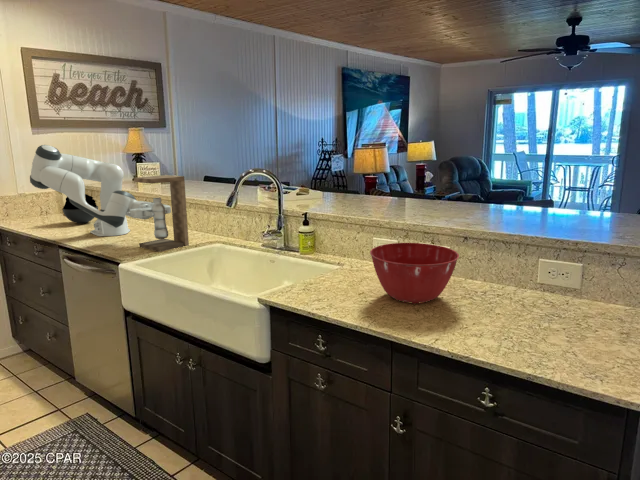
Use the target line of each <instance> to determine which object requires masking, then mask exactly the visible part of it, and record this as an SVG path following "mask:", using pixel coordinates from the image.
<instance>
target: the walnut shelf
mask: <svg viewBox="0 0 640 480" xmlns="http://www.w3.org/2000/svg"><path fill="white" fill-rule="evenodd" d="M133 181H134V183H139V184H140V183H142V184H150V185H151V184H152V185H153V184H162V183H169V189H170V201H171V202H170V203H171V205H170V206H171V215H172V216H171V217H172V218H171V219H172V233H173V240H172V239H169V238H168V239H167V238H164V239H155V240H149V241H145V242H140V243H138V244H139V248H141V249H145V250H149V251H154V252H158V253H161V252H165V251H169V250H173V249H174V248H175V249H179V248H183V246H184V247H188V246H189V244H190V243H189V241H190V239H189V228H188V215H187V214H188V213H187V212H188V211H187V200H186V199H187V198H186V197H187V196H186V183H185V176H183V175H172V174H171V175H170V174H165V175H164V174H163V175H153V176H152V175H151V176H139V177H137V176H136V177H133ZM178 247H179V248H178Z"/></svg>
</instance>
